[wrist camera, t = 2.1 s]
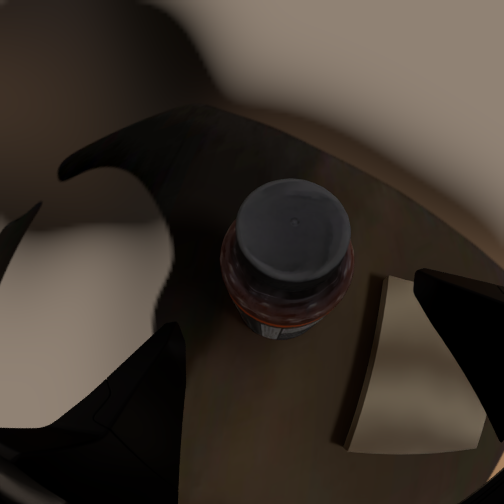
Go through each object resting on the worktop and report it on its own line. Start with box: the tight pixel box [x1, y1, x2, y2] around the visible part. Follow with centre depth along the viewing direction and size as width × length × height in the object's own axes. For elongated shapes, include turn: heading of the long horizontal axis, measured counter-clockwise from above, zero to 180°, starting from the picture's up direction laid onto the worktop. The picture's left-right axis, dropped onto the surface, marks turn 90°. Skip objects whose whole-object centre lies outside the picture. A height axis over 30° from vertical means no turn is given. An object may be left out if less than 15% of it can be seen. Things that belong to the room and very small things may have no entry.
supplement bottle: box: [220, 178, 354, 340], centre depth 14 cm, size 6×6×11 cm
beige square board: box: [343, 276, 486, 454], centre depth 15 cm, size 13×13×1 cm
